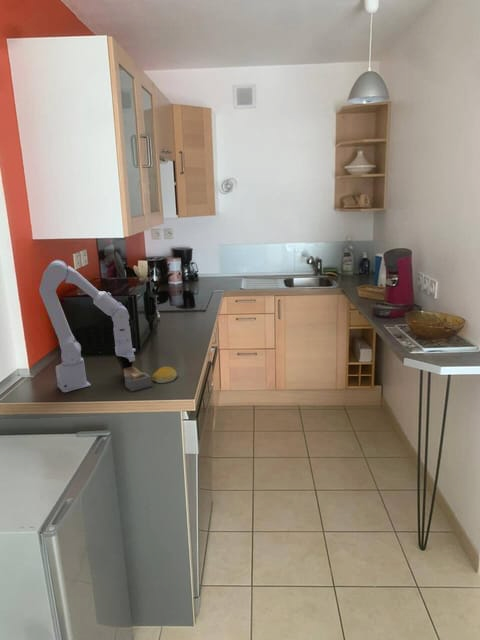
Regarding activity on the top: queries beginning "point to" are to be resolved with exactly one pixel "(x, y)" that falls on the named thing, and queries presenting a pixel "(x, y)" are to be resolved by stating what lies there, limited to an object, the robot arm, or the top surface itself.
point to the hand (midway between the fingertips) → (127, 375)
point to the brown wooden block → (133, 373)
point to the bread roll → (164, 375)
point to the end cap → (138, 382)
